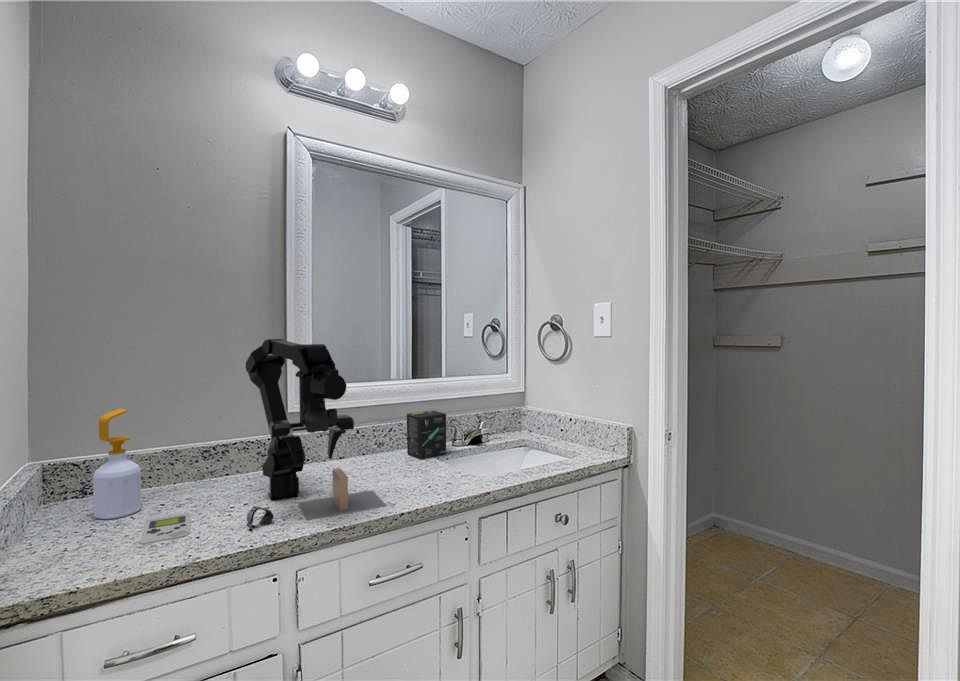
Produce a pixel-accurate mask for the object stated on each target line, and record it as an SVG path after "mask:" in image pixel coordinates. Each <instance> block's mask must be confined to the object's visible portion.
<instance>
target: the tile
mask: <svg viewBox="0 0 960 681" xmlns="http://www.w3.org/2000/svg"><path fill="white" fill-rule="evenodd" d="M348 481H349V477H348V475H347V474H346V473H345V472H344V471H343V470H342V469H341V467H338V468H337V467H335V468H332V497H333V501H334V503H335V504H336V505H337V507H338V508H339V510H345V509H348V493H349V488H348V487H349V486H348V484H349V482H348Z"/></svg>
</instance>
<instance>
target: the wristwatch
mask: <svg viewBox="0 0 960 681" xmlns="http://www.w3.org/2000/svg"><path fill="white" fill-rule="evenodd" d="M258 510H263V512H265V513H264V515H263V516H262V517H261V519H260V520H259V522H258V524H259V525H261V526H268V525H271V522H272V521H273V519H274V516H275V515H274V514H273V512H272V511H271V510H270V509H268V508H265V507H261V506H259V505H253V506H252V508H250V510H248V512H247V515H246V522H247V523H246V527H247V528H249V529H251V530H254V529H257V528H259V527H258V526H256V525H254V524H253V522H254V516H255V514H256V513H257V511H258Z"/></svg>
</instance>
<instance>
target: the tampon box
mask: <svg viewBox="0 0 960 681" xmlns="http://www.w3.org/2000/svg"><path fill="white" fill-rule="evenodd" d="M406 440H407V441H406V444H407V446H406V447H407V449H406V450H407V451H406V452H407V453H406V454H407V455H408V456H411V457H414V458H416V459H419V460H427V459H430V458H434V457H435V458H436V457H439V456H444V455H446V454H447V413H446V412H441V411H437V410H433V409H432V410H425V411H418V412H410V413H406ZM426 458H427V459H426Z"/></svg>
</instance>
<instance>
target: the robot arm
mask: <svg viewBox="0 0 960 681" xmlns="http://www.w3.org/2000/svg"><path fill="white" fill-rule="evenodd" d="M286 359H288V360H290V361H292V365H294V367H296V368H298V369H299V370H298V371H297V372H296V373H295V377H296V378H299V379H298V380H299V383H298V384H299V386H298V387H299V390H298V392H299V393H298V394H299V422H290V421H288V416H287V413H286V408H285V404H284V400H283V397H282V393H281V389H280V386H279V382H280V379H281V376H282V374H283V371H282V368H283V367H284V365H285V363H286ZM245 371H246V373H248V376H249V379H250V382H252V384H254V385H255V386H256V387H257V388H258V389H259V393H260V396H261V401H262V406H263V409H264V413H265V418H266V422H267V427H268V431H269V434H270V439H271V440H270V442H269V444H268V448H267V458H266V459H265V461H264V463H263V464H262V466H261V470H262V475H263V476H265V477H267V478H269V492H268V496H269V500H270V502H276V501H282V500H288V499H295V498H298V497H299V495H298V494H299V493H300V479H299V476H298V474H297V473H299V472H303V468H304V464H305V459H306V452H305V449H304V447H303V443H302V439H301V437H300V436H299V435H297V436H295V435H294V434H293V433H294V431H295V432H296V431H304V430H305V431H306V432H308V433H310V434H311V433H313V434H314V433H315V432H328V441H327V442H328V443H327V444H328V445H327V446H328V447H327V458H328V459H329V460H332V457H333V454H334V452H335V448H336V447H337V446H336V445H337V442H338V440H339V439H340V437H341V436H342V434H346V432H347V430H354V429H355V421H354V418H353V417H351V415H350V416H349V415H348V414H341V415H338V410H337V408H328V409H327V408H326V400H327V399H328V400H333V401H336V400H339V399H341V398H342V397H343V396H344V395H345V394H346V391H347V383H346V381H345V379H344V377H343V376H341V375H340V374H339V369H337V368H336V363H335V362H334V360H333V358H332V356H331V353H330V351H329V350H328V346H327V345H325V344H324V343H318V344H317V343H316V344H315V343H310V344H306V343H305V344H301V343H296V342H294V341H293V342H292V341H288V340H285V339H283V338H267V339H265V340H264V341H263V342H262V344H261V345H260V346H259V347H257V348H256V349H254V350H252V352H250V354H249V356H248V358H247V360H246V362H245Z"/></svg>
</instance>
